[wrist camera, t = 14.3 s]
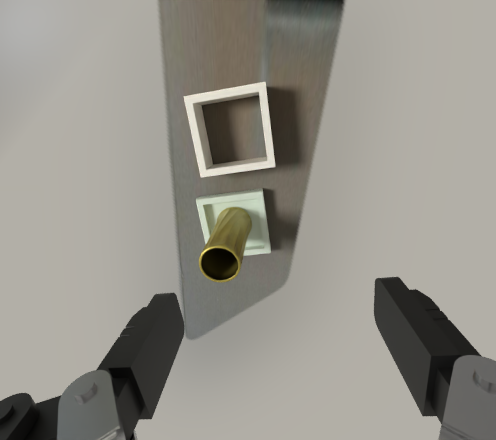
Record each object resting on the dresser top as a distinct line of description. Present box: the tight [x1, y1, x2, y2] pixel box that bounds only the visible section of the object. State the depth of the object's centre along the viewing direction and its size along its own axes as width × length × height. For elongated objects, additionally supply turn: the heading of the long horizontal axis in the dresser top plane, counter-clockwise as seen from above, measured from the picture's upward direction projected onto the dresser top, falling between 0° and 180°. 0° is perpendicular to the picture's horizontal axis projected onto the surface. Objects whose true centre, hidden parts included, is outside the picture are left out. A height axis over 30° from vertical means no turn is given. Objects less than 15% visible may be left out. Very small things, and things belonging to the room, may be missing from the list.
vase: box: [199, 207, 252, 282], centre depth 40 cm, size 6×6×14 cm
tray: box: [196, 188, 271, 256], centre depth 46 cm, size 11×11×2 cm
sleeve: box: [184, 82, 275, 177], centre depth 39 cm, size 11×11×5 cm
